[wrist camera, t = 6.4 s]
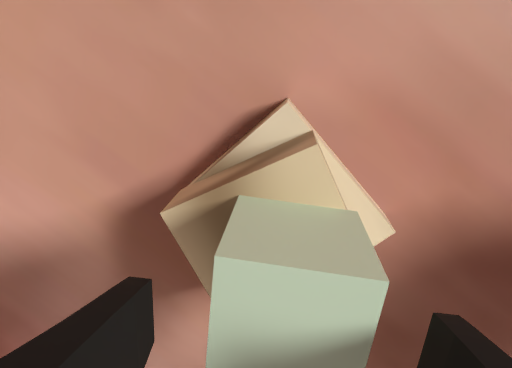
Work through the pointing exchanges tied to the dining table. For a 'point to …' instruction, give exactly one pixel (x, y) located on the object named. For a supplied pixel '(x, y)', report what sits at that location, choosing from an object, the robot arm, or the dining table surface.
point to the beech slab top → (248, 184)
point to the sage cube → (294, 288)
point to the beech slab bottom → (294, 124)
